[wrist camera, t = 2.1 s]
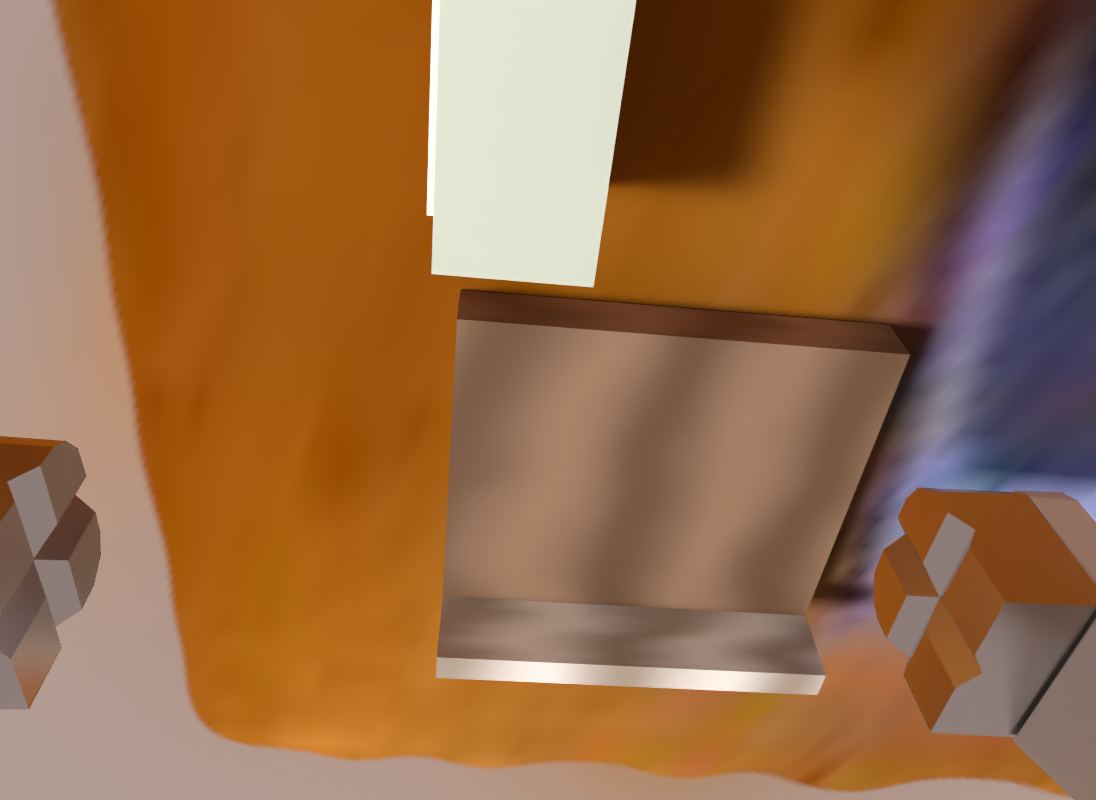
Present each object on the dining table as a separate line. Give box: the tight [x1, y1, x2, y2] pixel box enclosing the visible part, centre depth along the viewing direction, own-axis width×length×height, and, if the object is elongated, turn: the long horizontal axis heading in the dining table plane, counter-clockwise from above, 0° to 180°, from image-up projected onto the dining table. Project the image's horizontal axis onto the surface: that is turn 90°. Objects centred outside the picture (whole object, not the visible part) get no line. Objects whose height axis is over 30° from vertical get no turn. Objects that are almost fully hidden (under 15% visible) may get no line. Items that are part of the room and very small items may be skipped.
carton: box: [427, 0, 636, 287], centre depth 22 cm, size 4×8×7 cm, turn 174°
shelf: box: [436, 290, 910, 695], centre depth 32 cm, size 15×14×5 cm
